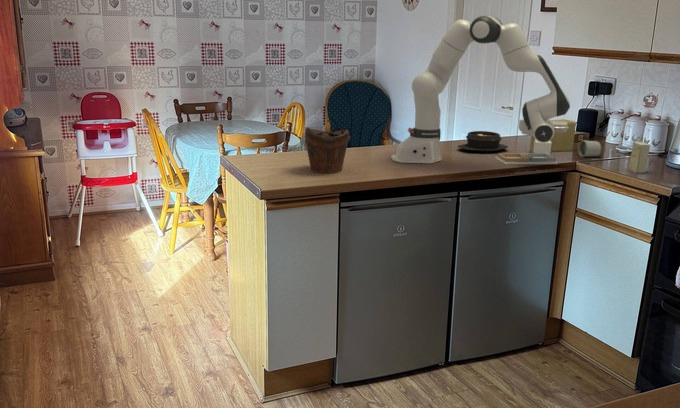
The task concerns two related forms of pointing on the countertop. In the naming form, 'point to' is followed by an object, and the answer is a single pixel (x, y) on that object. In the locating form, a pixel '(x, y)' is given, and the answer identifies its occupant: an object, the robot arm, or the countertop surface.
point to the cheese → (561, 138)
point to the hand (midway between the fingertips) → (542, 123)
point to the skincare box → (639, 157)
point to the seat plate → (526, 158)
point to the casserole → (483, 142)
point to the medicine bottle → (542, 147)
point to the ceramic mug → (589, 148)
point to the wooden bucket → (326, 149)
